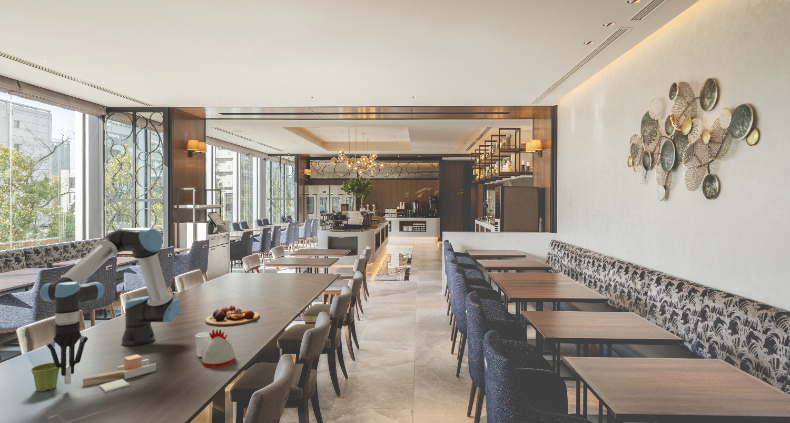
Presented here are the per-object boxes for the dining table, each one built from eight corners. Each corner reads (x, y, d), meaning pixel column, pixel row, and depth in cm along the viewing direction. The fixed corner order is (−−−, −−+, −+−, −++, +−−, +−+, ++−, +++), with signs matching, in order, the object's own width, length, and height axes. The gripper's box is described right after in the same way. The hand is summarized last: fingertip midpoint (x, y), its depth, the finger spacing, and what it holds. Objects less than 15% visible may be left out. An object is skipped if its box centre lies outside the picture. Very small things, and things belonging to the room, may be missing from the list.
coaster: (99, 386, 167) (99, 385, 167) (122, 380, 173) (122, 378, 173) (105, 392, 161) (105, 390, 161) (129, 385, 167) (129, 384, 167)
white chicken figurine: (211, 356, 201) (210, 325, 201) (239, 356, 200) (239, 325, 200) (196, 367, 187) (196, 333, 187) (226, 367, 186) (226, 334, 186)
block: (124, 373, 180) (124, 357, 180) (137, 370, 184) (137, 354, 184) (128, 376, 177) (128, 360, 176) (141, 373, 180) (141, 356, 180)
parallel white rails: (117, 373, 180) (117, 366, 180) (148, 365, 189) (148, 358, 189) (124, 379, 174) (124, 371, 174) (156, 370, 183) (155, 363, 183)
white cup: (206, 358, 198) (206, 337, 198) (191, 357, 200) (191, 336, 200) (216, 352, 206) (216, 332, 206) (202, 351, 207) (202, 331, 207)
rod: (83, 384, 169) (83, 377, 169) (124, 376, 177) (124, 369, 177) (82, 387, 167) (82, 379, 167) (124, 379, 175) (124, 371, 175)
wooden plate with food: (269, 318, 271) (269, 305, 271) (226, 330, 245) (226, 316, 244) (238, 311, 289) (238, 299, 289) (194, 322, 262) (194, 309, 262)
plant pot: (42, 383, 169) (42, 362, 169) (67, 383, 170) (67, 361, 170) (24, 394, 160) (24, 371, 160) (50, 393, 161) (50, 370, 161)
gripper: (48, 327, 155) (48, 391, 155) (90, 320, 165) (90, 380, 165) (43, 324, 160) (44, 385, 160) (85, 317, 170) (85, 375, 170)
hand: (67, 383), depth 163 cm, fingers closed
